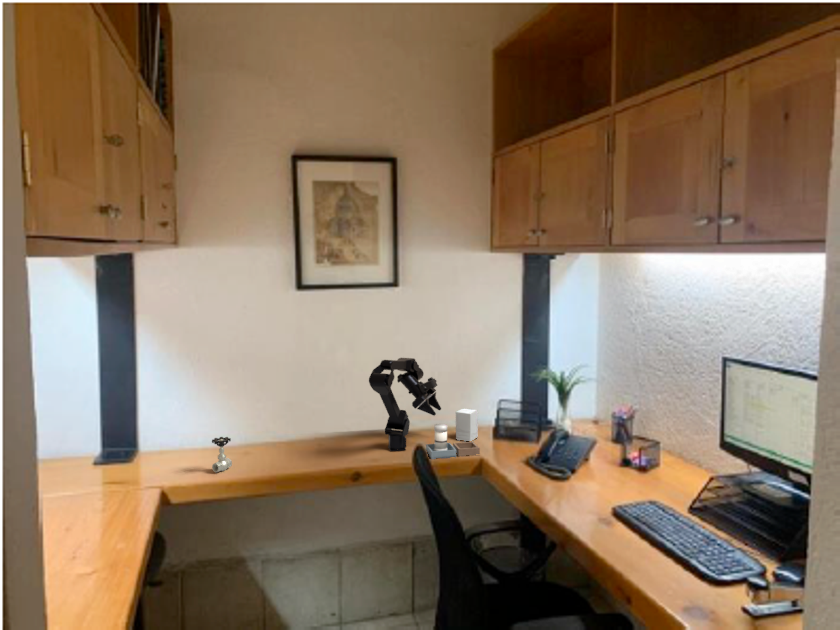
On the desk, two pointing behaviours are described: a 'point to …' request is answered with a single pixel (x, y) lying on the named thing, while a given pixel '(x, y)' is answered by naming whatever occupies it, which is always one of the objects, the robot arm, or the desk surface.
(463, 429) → the supplement box
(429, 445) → the parts tray
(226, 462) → the valve
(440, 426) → the cartridge fuse
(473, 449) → the brown square tray
